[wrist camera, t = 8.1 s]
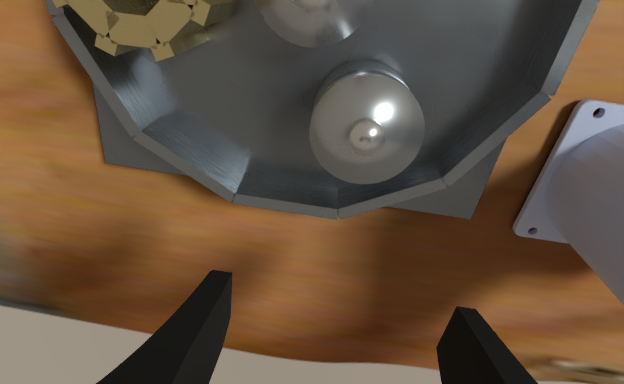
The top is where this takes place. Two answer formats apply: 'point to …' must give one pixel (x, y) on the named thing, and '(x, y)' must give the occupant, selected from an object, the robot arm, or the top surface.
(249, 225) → the top surface
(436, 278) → the top surface
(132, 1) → the gear
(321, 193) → the carrier
